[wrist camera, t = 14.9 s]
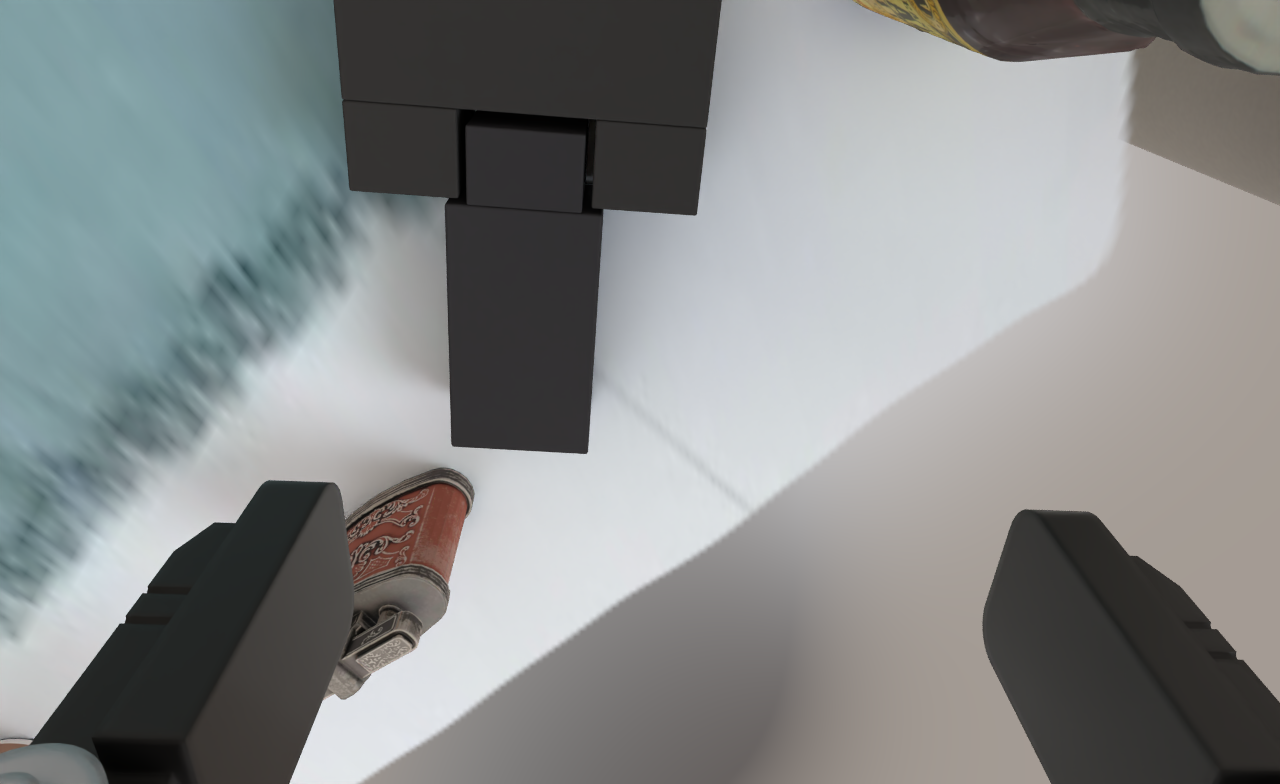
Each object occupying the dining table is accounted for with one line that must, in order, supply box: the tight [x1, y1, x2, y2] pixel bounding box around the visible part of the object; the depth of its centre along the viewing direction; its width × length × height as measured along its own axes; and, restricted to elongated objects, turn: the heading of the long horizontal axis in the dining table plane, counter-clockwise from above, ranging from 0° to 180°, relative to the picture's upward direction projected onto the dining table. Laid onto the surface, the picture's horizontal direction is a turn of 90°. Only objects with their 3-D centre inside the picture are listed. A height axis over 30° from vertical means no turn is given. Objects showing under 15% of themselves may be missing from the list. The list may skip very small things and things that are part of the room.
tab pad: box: [445, 110, 603, 454], centre depth 33 cm, size 6×13×4 cm, turn 175°
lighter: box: [323, 468, 474, 700], centre depth 36 cm, size 8×3×10 cm, turn 124°
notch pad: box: [334, 0, 722, 215], centre depth 29 cm, size 12×10×4 cm
